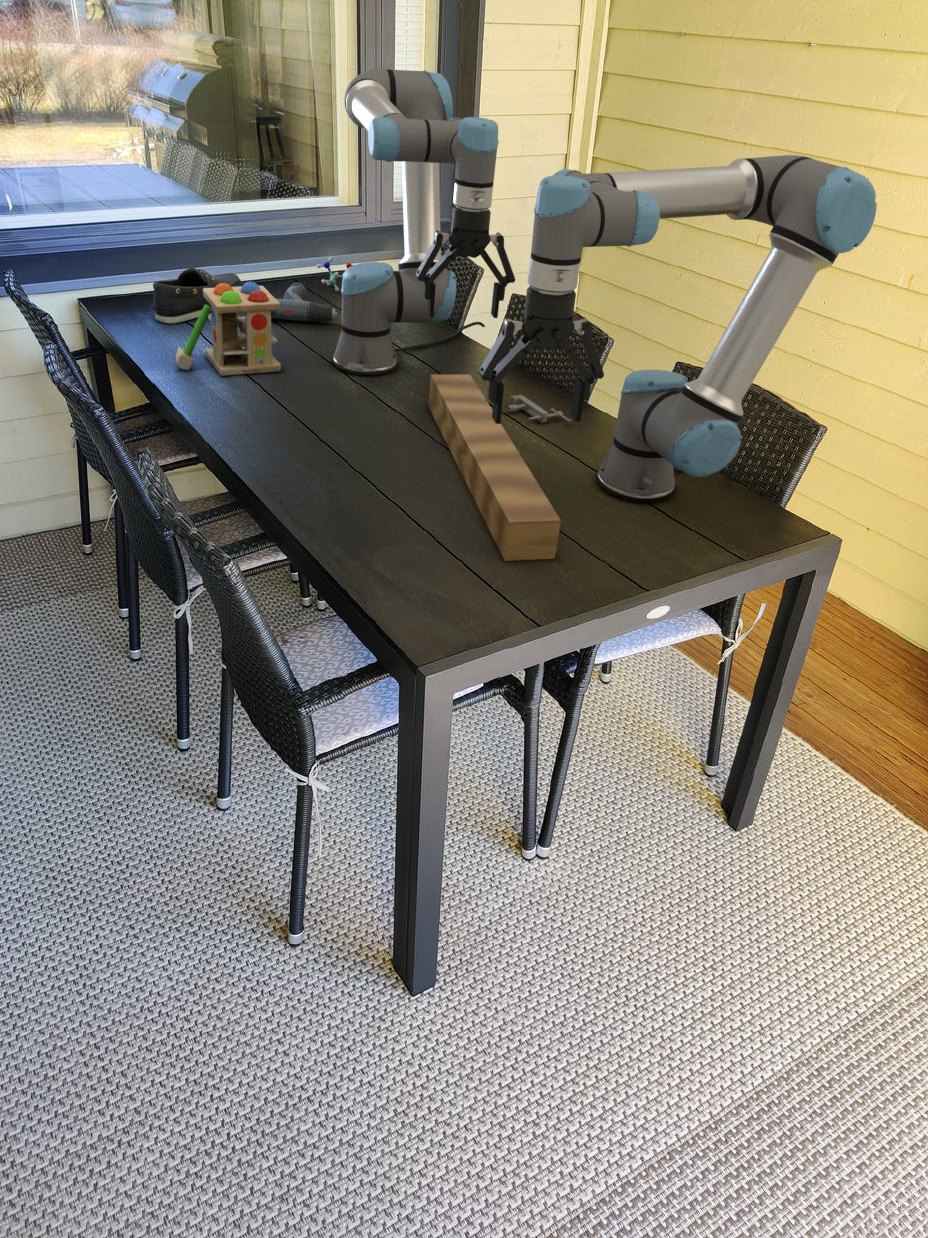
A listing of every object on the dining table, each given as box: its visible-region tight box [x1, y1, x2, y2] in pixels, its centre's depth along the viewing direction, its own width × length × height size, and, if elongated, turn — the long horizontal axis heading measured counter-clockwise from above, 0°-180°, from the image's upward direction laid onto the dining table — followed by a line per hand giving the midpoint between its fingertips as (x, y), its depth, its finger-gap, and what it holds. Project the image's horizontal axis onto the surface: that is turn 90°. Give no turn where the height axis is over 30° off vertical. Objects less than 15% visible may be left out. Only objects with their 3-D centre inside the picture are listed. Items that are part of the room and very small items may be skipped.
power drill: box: [271, 282, 338, 322], centre depth 265 cm, size 5×19×20 cm
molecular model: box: [316, 256, 354, 293], centre depth 287 cm, size 12×10×10 cm
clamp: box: [506, 394, 572, 424], centre depth 219 cm, size 15×2×10 cm
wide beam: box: [428, 373, 562, 562], centre depth 192 cm, size 67×9×8 cm, turn 13°
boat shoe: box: [152, 267, 243, 324], centre depth 261 cm, size 13×33×10 cm, turn 147°
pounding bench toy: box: [174, 281, 282, 377], centre depth 225 cm, size 23×14×18 cm, turn 116°
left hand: (462, 315), depth 203 cm, fingers open, 13 cm apart
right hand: (536, 419), depth 160 cm, fingers open, 13 cm apart
